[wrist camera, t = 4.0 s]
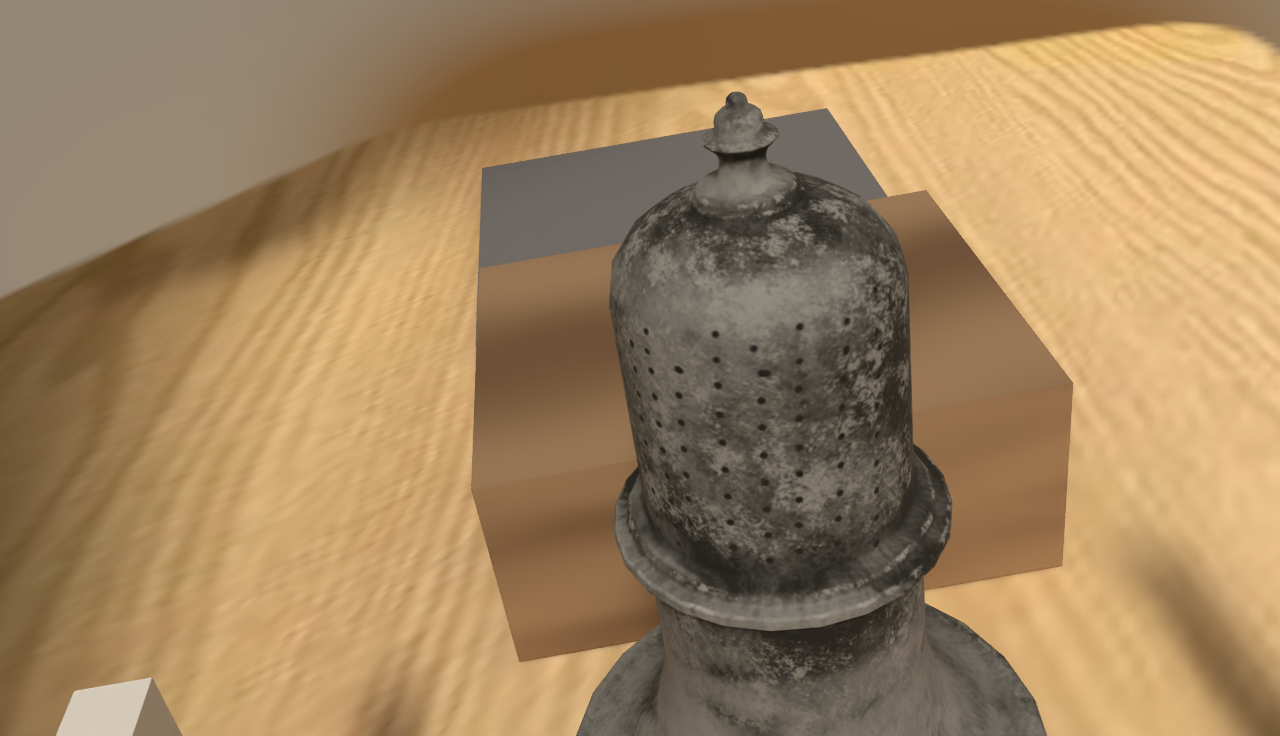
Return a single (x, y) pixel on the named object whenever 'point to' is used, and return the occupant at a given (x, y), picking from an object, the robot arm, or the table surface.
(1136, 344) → the table surface
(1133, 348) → the table surface
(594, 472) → the ledge block
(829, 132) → the mat
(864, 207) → the salt shaker
